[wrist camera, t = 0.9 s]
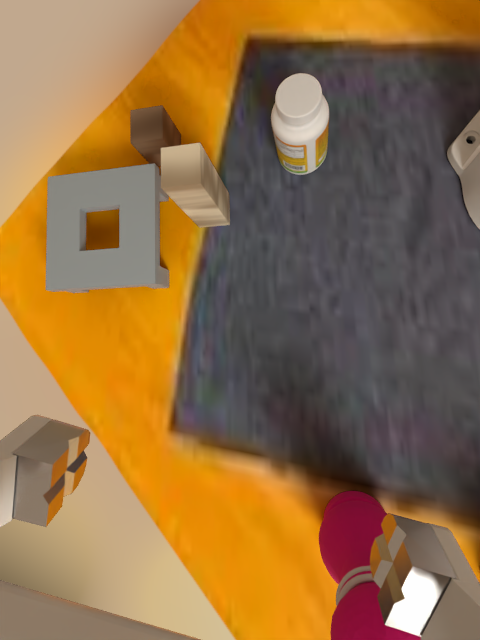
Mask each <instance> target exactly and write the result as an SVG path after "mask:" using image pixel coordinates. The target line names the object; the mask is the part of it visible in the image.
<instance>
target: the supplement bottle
mask: <svg viewBox="0 0 480 640" xmlns="http://www.w3.org/2000/svg"><path fill="white" fill-rule="evenodd" d="M271 123H272V129H273V133H274V138H275V143H276V148H277V153H278V157H279V161H280V163H281V165H282V166H283V167H284V168H285V169H286V170H287V171H289V172H290V173H293V174H297V175H304V174H308V173H311V172H313V171H314V170H316V169H317V168H318V167H319V166H320V165H321V164H322V163H323V161H324V159H325V157H326V154H327V145H328V126H329V107H328V103H327V101H326V99H325V98H324V96H323V95H322V89H321V86H320V84H319V82H318V80H317V79H316V78H314V77H313V76H311V75H309V74H304V73H299V74H294V75H291V76H289V77H288V78H286V79H285V80H284V81H283V82H282V83H281V84H280V85H279V87H278V89H277V92H276V96H275V104H274V106H273V109H272V113H271Z"/></svg>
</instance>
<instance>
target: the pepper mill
mask: <svg viewBox="0 0 480 640" xmlns="http://www.w3.org/2000/svg"><path fill="white" fill-rule="evenodd" d="M386 515H387V513H386V512H385V511H384V509H383V508H382V506H381V505H380V504H379V502H378V501H376V500H375V499H374V498H373V497H371V496H370V495H368V494H366V493H363V492H359V491H345V492H342V493H340V494H338V495H336V496H335V497H334V498H332V499H331V500H330V502H329V503H328V505H327V507H326V509H325V512H324V520H323V522H322V524H321V527H320V532H319V545H320V551H321V556H322V559H323V562H324V564H325V566H326V568H327V570H328V572H329V573H330V575H331V576H332V578H333V579H334V580H335V581H336V582H337V583H338V584H339V586H338V589H337V592H336V605H337V607H336V610H335V612H334V614H333V616H332V624H331V640H421V639H420V638H421V636H417V635H414V634H411V633H408V632H405V631H402V630H399V629H396V628H393V627H390V626H386V625H384V621H383V617H382V613H381V609H380V605H379V601H378V598H377V596H378V594H379V592H380V587H379V586H378V585H377V584H376V582H375V581H374V580H373V578H372V573H371V568H370V555H371V548H372V545H373V543H374V540H375V538H376V537H378V536H380V535H382V534H383V530H382V526H381V524H382V522H383V519H384V517H385V516H386Z"/></svg>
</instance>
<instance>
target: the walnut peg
mask: <svg viewBox="0 0 480 640" xmlns="http://www.w3.org/2000/svg"><path fill="white" fill-rule="evenodd" d="M131 144H132V145H133V146H134V147H135V148H136V149H137V150H138V151H139V152H140V154H141V155H142V156H143V157H144V158H145V159H146V160H147V161H148V162H149V164H153V163H155V164H156V165H157V166H161V148H165V147H172V146H179V145H181V134H180V132H179V131H178V129H177V128H176V126H175V125H174V123H173V121H172V120H171V118H170V117H169V115H168V114H167V112H166V110H165V109H164V107H163V106H155V107H149V108H143V109H136V110H131Z"/></svg>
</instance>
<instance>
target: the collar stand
mask: <svg viewBox="0 0 480 640" xmlns="http://www.w3.org/2000/svg"><path fill="white" fill-rule="evenodd" d="M161 201H168V194H167V193H166V192H165V191H164V190H163V189H162V188H161V176H160V175H159V168H158V167H157V165H156V164H155V163H153V164H145V165H138V166H130V167H122V168H114V169H106V170H98V171H91V172H83V173H75V174H67V175H59V176H52V177H48V199H47V253H46V290H48V291H52V292H56V291H67V292H72V293H83V292H89V290H90V289H107V288H124V287H141V286H147V287H150V288H169V270H167V269H165V268H163V267H161V266H160V209H159V202H161ZM114 209H119V248H112V249H99V250H87V251H86V212H95V211H105V210H114Z"/></svg>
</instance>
